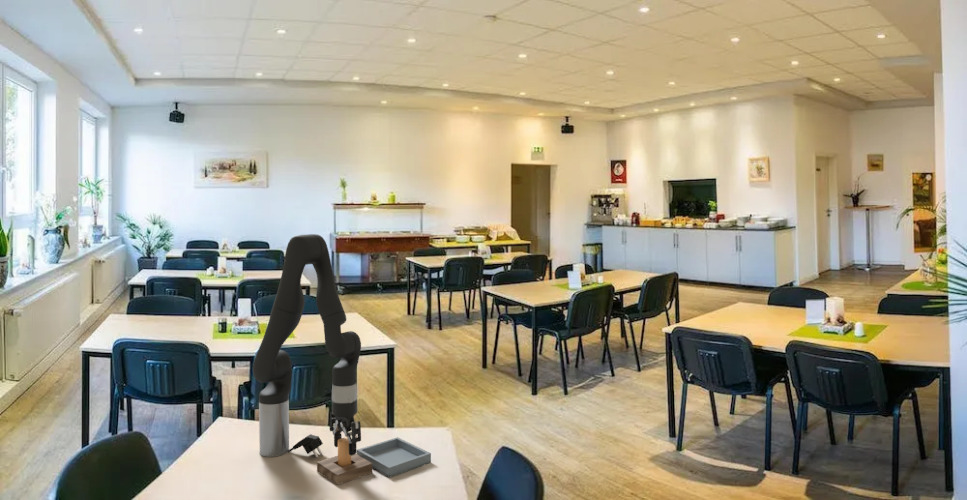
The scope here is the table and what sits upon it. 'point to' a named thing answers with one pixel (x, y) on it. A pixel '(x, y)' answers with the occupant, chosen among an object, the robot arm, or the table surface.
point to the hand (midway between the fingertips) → (345, 450)
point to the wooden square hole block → (344, 469)
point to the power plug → (309, 444)
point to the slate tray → (394, 456)
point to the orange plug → (343, 452)
